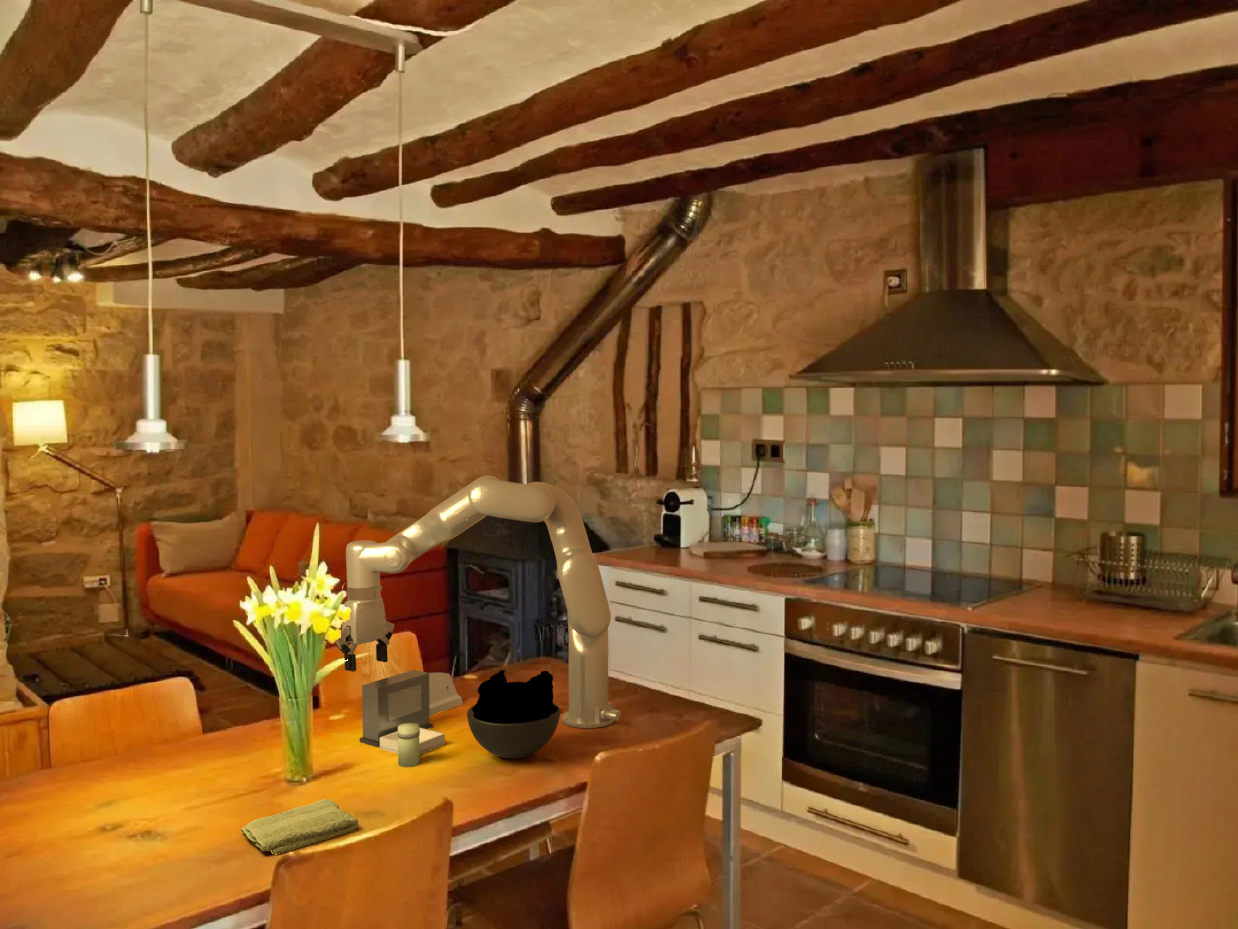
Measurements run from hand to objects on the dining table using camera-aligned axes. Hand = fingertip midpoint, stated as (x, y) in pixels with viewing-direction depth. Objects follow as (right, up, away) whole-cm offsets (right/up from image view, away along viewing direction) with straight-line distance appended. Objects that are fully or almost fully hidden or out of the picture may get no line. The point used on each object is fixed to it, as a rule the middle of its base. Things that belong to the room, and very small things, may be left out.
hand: (366, 666), depth 241 cm
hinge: (+12, -14, +14) cm, 24 cm away
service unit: (+8, -15, -5) cm, 18 cm away
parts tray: (+13, -15, -13) cm, 24 cm away
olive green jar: (+15, -16, -24) cm, 32 cm away
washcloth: (+3, -19, -59) cm, 62 cm away
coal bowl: (+37, -16, -19) cm, 44 cm away
